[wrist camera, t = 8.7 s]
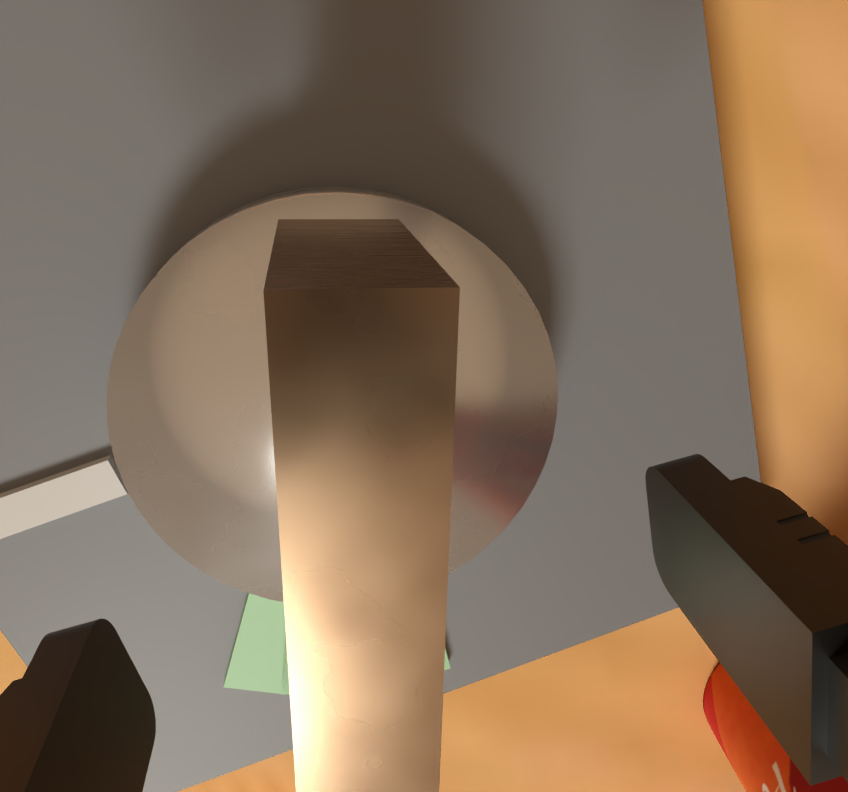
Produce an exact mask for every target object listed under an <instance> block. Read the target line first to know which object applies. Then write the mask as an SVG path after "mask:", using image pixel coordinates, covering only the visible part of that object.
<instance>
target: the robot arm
mask: <svg viewBox="0 0 848 792" xmlns="http://www.w3.org/2000/svg"><path fill="white" fill-rule="evenodd" d="M645 480H646V491H647V501H648V510H649V520H650V529H651V539H652V548H653V555H654V559H655V563H656V566H657V569H658V572H659V575H660V577H661V579H662V582H663V584H664V586H665V587H666V589H667V591H668V592H669V594H670V595H671V597H672V598H673V599H674V601H675V602H676V603H677V605H678V606H679V608H680V609H681V610H682V612H683V613H684V614H685V616H686V617H687V618H688V620H689V621H690V623H691V624H692V625H693V627H694V628H695V629H696V631H697V632H698V633H699V635H700V636H701V637H702V639H703V640H704V642H705V643H706V644H707V646H708V647H709V648H710V650H711V651H712V652H713V654H714V655H715V657H716V658H717V659H718V661H719V662H720V663H721V665H722V666H723V667H724V669H725V670H726V672H727V673H728V674H729V676H730V677H731V678H732V680H733V681H734V682H735V684H736V685H737V686H738V688H739V689H740V691H741V692H742V693H743V695H744V696H745V697H746V699H747V700H748V701H749V703H750V704H751V706H752V707H753V708H754V710H755V711H756V712H757V714H758V715H759V716H760V718H761V719H762V721H763V722H764V723H765V725H766V726H767V727H768V729H769V730H770V731H771V733H772V734H773V735H774V737H775V738H776V740H777V741H778V742H779V744H780V745H781V746H782V748H783V749H784V750H785V752H786V753H787V755H788V756H789V757H790V759H791V760H792V761H793V763H794V764H795V765H796V767H797V768H798V769H799V771H800V772H801V774H802V775H803V776H804V778H805V779H806V780H807V782H808V783H809V784H810V786H811V785H815V784H818V783H821V782H824V781H828V780H831V779H834V778H838V777H841V776H843V777H844V778H845V780H846V781H847V782H848V546H847V545H846V544H845V543H844V542H842V541H841V540H840V539H839V538H837V537H836V536H835V535H833V536H831V535H830V533H829V530H828V529H827V528H825V527H824V526H823V525H822V524H820V523H819V522H818V521H817V520H816V519H814V518H813V517H808V515H807V512H806V511H805V510H803V509H802V508H801V507H800V506H799V505H797V504H796V503H795V502H794V501H792V500H791V499H790V498H789V497H788V496H786V495H785V494H784V493H783V492H782V491H780V490H778V489H775V488H773V487H770V486H768V485H765V484H763V483H760V482H758V481H755V480H753V479H750V478H748V477H745V476H744V477H741V478H737V479H734V480H730V479H728V478H727V477H726V476H725V475H724V474H723V473H722V472H721V471H720V470H718V469H717V468H716V467H715V466H714V465H713V464H712V463H711V462H709V461H708V460H707V459H706V458H705V457H704V456H702V455H700V454H694V455H690V456H687V457H683V458H680V459H676V460H673V461H669V462H665V463H662V464H658V465H655V466H651V467H649V468H648V469H647V471H646V476H645ZM155 734H156V718H155V711H154V706H153V702H152V699H151V696H150V694H149V692H148V690H147V688H146V686H145V684H144V682H143V680H142V678H141V677H140V675H139V673H138V671H137V669H136V667H135V665H134V663H133V661H132V660H131V658H130V656H129V654H128V652H127V650H126V648H125V646H124V644H123V643H122V641H121V639H120V637H119V635H118V633H117V631H116V630H115V628H114V626H113V625H112V624H111V623H110V622H109V621H108V620H106V619H102V618H101V619H98V620H94V621H90V622H87V623H83V624H80V625H76V626H72V627H69V628H65V629H62V630H58V631H55V632H51V633H48V634H47V635H45V636H44V637H43V639H42V640H41V642H40V644H39V646H38V648H37V650H36V652H35V654H34V656H33V658H32V660H31V662H30V664H29V666H28V668H27V670H26V672H25V674H24V676H23V678H22V679H18V680H15V681H13V682H12V683H11V684H10V685H9V686H8V687H7V688H6V689H5V691H4V692H3V693H2V694H1V695H0V792H142V791H143V787H144V783H145V779H146V775H147V771H148V766H149V762H150V758H151V754H152V750H153V746H154V741H155Z"/></svg>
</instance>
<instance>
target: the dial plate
mask: <svg viewBox="0 0 848 792" xmlns="http://www.w3.org/2000/svg"><path fill="white" fill-rule="evenodd" d="M325 186H344V187H357V188H367V189H372V190H377V191H381V192H386V193H391V194H395V195H398V196H401V197H403V198H406V199H409V200H412V201H415V202H417V203H420V204H423V205H424V206H426V207H428V208H430V209H432V210H434V211H436V212H438V213H440V214H442V215H444V216H446V217H447V218H449V219H450V220H452V221H453V222H454V223H456V224H457V225H459V226H460V227H461V228H463V229H464V230H466V231H467V232H468V233H470V234H471V235H473V236H474V237H475V238H477V239H478V240H479V241H481V242H482V243H484V244H485V245H486V246H487V247H488V248H489V249H490V250H491V251H492V252H494V253H495V254H496V255H497V256H498V257H499V258H500V259H501V260H502V261H503V262H504V263H505V264H506V265H507V266H508V267H509V268H510V270H511V271H512V272H513V274H514V275H515V276H516V277H517V279H518V280H519V281H520V282H521V284H522V285H523V286H524V287H525V289H526V291H527V292H528V294H529V296H530V298H531V299H532V301H533V303H534V304H535V306H536V308H537V310H538V311H539V314H540V316H541V319H542V321H543V324H544V326H545V328H546V331H547V333H548V336H549V339H550V343H551V347H552V351H553V355H554V359H555V365H556V374H557V384H558V402H557V418H556V424H555V429H554V435H553V440H552V444H551V447H550V450H549V453H548V457H547V460H546V463H545V465H544V468H543V470H542V472H541V474H540V476H539V479H538V481H537V483H536V485H535V487H534V489H533V490H532V492H531V494H530V495H529V497H528V499H527V500H526V502H525V503H524V505H523V507H522V508H521V510H520V511H519V512H518V513H517V515H516V516H515V517H514V518H513V520H512V521H511V522H510V523H509V525H508V526H507V527H506V528H505V529H504V530H503V531H502V532H501V533H500V534H499V535H498V536H497V537H496V538H495V539H494V540H493V541H492V542H491V543H490V544H489V545H488V546H487V547H486V548H485V549H483V550H482V551H481V552H480V553H478V554H477V555H476V556H475V557H473V558H472V559H471V560H470V561H468V562H467V563H465V564H464V565H462V566H461V567H459V568H457V569H456V570H454V571H453V572H451V573H449V574H448V588H447V612H446V637H445V661H444V685H443V694H444V693H447V692H449V691H452V690H455V689H458V688H460V687H463V686H466V685H468V684H471V683H474V682H477V681H479V680H482V679H485V678H488V677H490V676H493V675H496V674H498V673H501V672H504V671H507V670H509V669H512V668H515V667H517V666H520V665H523V664H526V663H528V662H531V661H534V660H536V659H539V658H542V657H545V656H547V655H550V654H553V653H556V652H558V651H561V650H564V649H566V648H569V647H572V646H575V645H577V644H580V643H583V642H585V641H588V640H591V639H594V638H596V637H599V636H602V635H605V634H607V633H610V632H613V631H615V630H618V629H621V628H624V627H626V626H629V625H632V624H634V623H637V622H640V621H643V620H645V619H648V618H651V617H653V616H656V615H659V614H662V613H664V612H667V611H670V610H673V609H675V608H678V607H679V606H678V605H677V603H676V602H675V601H674V599H673V598H672V597H671V595H670V594H669V592H668V591H667V589H666V587H665V586H664V584H663V582H662V579H661V577H660V575H659V572H658V569H657V566H656V563H655V559H654V555H653V548H652V539H651V529H650V520H649V510H648V501H647V491H646V480H645V476H646V471H647V469H648V468H649V467H651V466H655V465H658V464H662V463H665V462H669V461H673V460H676V459H680V458H683V457H687V456H690V455H694V454H700V455H702V456H704V457H705V458H706V459H707V460H708V461H709V462H711V463H712V464H713V465H714V466H715V467H716V468H717V469H718V470H720V471H721V472H722V473H723V474H724V475H725V476H726V477H727V478H728V479H730V480H734V479H737V478H741V477H744V476H745V477H748V478H750V479H753V480H755V481H758V482H760V483H761V480H760V471H759V463H758V455H757V447H756V438H755V430H754V422H753V414H752V405H751V397H750V389H749V381H748V372H747V364H746V356H745V348H744V339H743V331H742V323H741V315H740V306H739V298H738V290H737V282H736V274H735V265H734V257H733V249H732V241H731V232H730V224H729V216H728V208H727V199H726V191H725V183H724V175H723V166H722V158H721V150H720V142H719V133H718V125H717V117H716V109H715V100H714V92H713V84H712V76H711V67H710V59H709V51H708V43H707V35H706V26H705V18H704V10H703V2H702V0H0V630H1V632H2V633H3V634H4V636H5V637H6V638H7V640H8V641H9V642H10V644H11V645H12V646H13V648H14V649H15V651H16V652H17V653H18V655H19V656H20V657H21V659H22V660H23V661H24V663H25V664H26V665H27V667H28V666H29V664H30V662H31V660H32V658H33V656H34V654H35V652H36V650H37V648H38V646H39V644H40V642H41V640H42V639H43V637H44V636H45V635H47V634H48V633H51V632H55V631H58V630H62V629H65V628H69V627H72V626H76V625H80V624H83V623H87V622H90V621H94V620H98V619H101V618H102V619H106V620H108V621H109V622H110V623H111V624H112V625H113V626H114V628H115V630H116V631H117V633H118V635H119V637H120V639H121V641H122V643H123V644H124V646H125V648H126V650H127V652H128V654H129V656H130V658H131V660H132V661H133V663H134V665H135V667H136V669H137V671H138V673H139V675H140V677H141V678H142V680H143V682H144V684H145V686H146V688H147V690H148V692H149V694H150V696H151V699H152V702H153V706H154V711H155V718H156V734H155V741H154V746H153V750H152V754H151V758H150V762H149V766H148V771H147V775H146V779H145V783H144V787H143V791H142V792H177V791H180V790H183V789H186V788H188V787H191V786H194V785H196V784H199V783H202V782H205V781H207V780H210V779H213V778H215V777H218V776H221V775H224V774H226V773H229V772H232V771H235V770H237V769H240V768H243V767H245V766H248V765H251V764H254V763H256V762H259V761H262V760H264V759H267V758H270V757H273V756H275V755H278V754H281V753H283V752H286V751H289V750H292V749H293V736H292V721H291V705H290V690H289V675H288V659H287V644H286V629H285V614H284V602H281V601H275V600H270V599H266V598H263V597H260V596H256V595H253V594H250V593H246V592H243V591H241V590H239V589H236V588H234V587H232V586H230V585H227V584H225V583H223V582H220V581H218V580H217V579H215V578H213V577H211V576H210V575H208V574H206V573H205V572H203V571H201V570H199V569H198V568H196V567H195V566H193V565H192V564H191V563H189V562H188V561H187V560H186V559H184V558H183V557H182V556H180V555H179V554H178V553H176V552H175V551H174V550H173V549H172V548H171V547H170V546H169V545H168V544H167V543H166V542H165V541H164V540H163V539H162V538H161V537H160V536H159V535H158V534H157V533H156V532H155V531H154V530H153V528H152V527H151V526H150V525H149V523H148V522H147V521H146V519H145V518H144V517H143V516H142V514H141V513H140V512H139V510H138V508H137V507H136V505H135V503H134V502H133V500H132V498H131V496H130V495H129V493H128V491H127V489H126V488H125V485H124V483H123V480H122V478H121V475H120V473H119V470H118V468H117V465H116V463H115V459H114V455H113V451H112V447H111V443H110V439H109V434H108V422H107V410H106V402H107V387H108V376H109V371H110V367H111V363H112V358H113V354H114V349H115V346H116V344H117V341H118V339H119V336H120V334H121V331H122V328H123V326H124V323H125V321H126V319H127V317H128V316H129V314H130V312H131V310H132V309H133V307H134V305H135V303H136V302H137V300H138V298H139V296H140V295H141V293H142V292H143V291H144V289H145V288H146V287H147V286H148V284H149V283H150V282H151V281H152V279H153V278H154V277H155V276H156V274H157V273H158V272H159V271H160V269H161V268H162V267H163V266H164V265H165V264H166V262H167V261H168V260H169V259H170V258H171V257H172V256H173V255H174V254H175V253H176V252H177V251H178V250H179V249H180V248H181V247H182V246H183V245H184V244H185V243H186V242H187V241H189V240H190V239H191V238H192V237H193V236H194V235H195V234H196V233H198V232H199V231H201V230H202V229H203V228H205V227H206V226H208V225H209V224H211V223H212V222H213V221H215V220H216V219H218V218H219V217H221V216H223V215H225V214H227V213H229V212H231V211H233V210H235V209H237V208H239V207H241V206H243V205H245V204H247V203H250V202H252V201H255V200H258V199H261V198H264V197H267V196H270V195H273V194H276V193H281V192H286V191H291V190H296V189H301V188H309V187H325Z"/></svg>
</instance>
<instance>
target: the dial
mask: <svg viewBox="0 0 848 792" xmlns="http://www.w3.org/2000/svg"><path fill="white" fill-rule="evenodd" d="M557 402H558V384H557V374H556V365H555V359H554V355H553V351H552V347H551V343H550V339H549V336H548V333H547V331H546V328H545V326H544V324H543V321H542V319H541V316H540V314H539V311H538V310H537V308H536V306H535V304H534V303H533V301H532V299H531V298H530V296H529V294H528V292H527V291H526V289H525V287H524V286H523V285H522V284H521V282H520V281H519V280H518V279H517V277H516V276H515V275H514V274H513V272H512V271H511V270H510V268H509V267H508V266H507V265H506V264H505V263H504V262H503V261H502V260H501V259H500V258H499V257H498V256H497V255H496V254H495V253H494V252H492V251H491V250H490V249H489V248H488V247H487V246H486V245H485V244H484V243H482V242H481V241H479V240H478V239H477V238H475V237H474V236H473V235H471V234H470V233H468V232H467V231H466V230H464V229H463V228H461V227H460V226H459V225H457V224H456V223H454V222H453V221H452V220H450V219H449V218H447V217H446V216H444V215H442V214H440V213H438V212H436V211H434V210H432V209H430V208H428V207H426V206H424V205H423V204H420V203H417V202H415V201H412V200H409V199H406V198H403V197H401V196H398V195H395V194H391V193H386V192H381V191H377V190H372V189H367V188H357V187H344V186H325V187H309V188H301V189H296V190H291V191H286V192H281V193H276V194H273V195H270V196H267V197H264V198H261V199H258V200H255V201H252V202H250V203H247V204H245V205H243V206H241V207H239V208H237V209H235V210H233V211H231V212H229V213H227V214H225V215H223V216H221V217H219V218H218V219H216V220H215V221H213V222H212V223H211V224H209V225H208V226H206V227H205V228H203V229H202V230H201V231H199V232H198V233H196V234H195V235H194V236H193V237H192V238H191V239H190V240H189V241H187V242H186V243H185V244H184V245H183V246H182V247H181V248H180V249H179V250H178V251H177V252H176V253H175V254H174V255H173V256H172V257H171V258H170V259H169V260H168V261H167V262H166V264H165V265H164V266H163V267H162V268H161V269H160V271H159V272H158V273H157V274H156V276H155V277H154V278H153V279H152V281H151V282H150V283H149V284H148V286H147V287H146V288H145V289H144V291H143V292H142V293H141V295H140V296H139V298H138V300H137V302H136V303H135V305H134V307H133V309H132V310H131V312H130V314H129V316H128V317H127V319H126V321H125V323H124V326H123V328H122V331H121V334H120V336H119V339H118V341H117V344H116V346H115V349H114V354H113V358H112V363H111V367H110V371H109V376H108V387H107V402H106V410H107V422H108V434H109V439H110V443H111V447H112V451H113V455H114V459H115V463H116V465H117V468H118V470H119V473H120V475H121V478H122V480H123V483H124V485H125V488H126V489H127V491H128V493H129V495H130V496H131V498H132V500H133V502H134V503H135V505H136V507H137V508H138V510H139V512H140V513H141V514H142V516H143V517H144V518H145V519H146V521H147V522H148V523H149V525H150V526H151V527H152V528H153V530H154V531H155V532H156V533H157V534H158V535H159V536H160V537H161V538H162V539H163V540H164V541H165V542H166V543H167V544H168V545H169V546H170V547H171V548H172V549H173V550H174V551H175V552H176V553H178V554H179V555H180V556H182V557H183V558H184V559H186V560H187V561H188V562H189V563H191V564H192V565H193V566H195V567H196V568H198V569H199V570H201V571H203V572H205V573H206V574H208V575H210V576H211V577H213V578H215V579H217V580H218V581H220V582H223V583H225V584H227V585H230V586H232V587H234V588H236V589H239V590H241V591H243V592H246V593H250V594H253V595H256V596H260V597H263V598H266V599H270V600H275V601H281V602H284V614H285V629H286V644H287V659H288V675H289V690H290V705H291V721H292V736H293V751H294V766H295V782H296V792H439V781H440V757H441V733H442V709H443V685H444V661H445V637H446V612H447V588H448V574H449V573H451V572H453V571H454V570H456V569H457V568H459V567H461V566H462V565H464V564H465V563H467V562H468V561H470V560H471V559H472V558H473V557H475V556H476V555H477V554H478V553H480V552H481V551H482V550H483V549H485V548H486V547H487V546H488V545H489V544H490V543H491V542H492V541H493V540H494V539H495V538H496V537H497V536H498V535H499V534H500V533H501V532H502V531H503V530H504V529H505V528H506V527H507V526H508V525H509V523H510V522H511V521H512V520H513V518H514V517H515V516H516V515H517V513H518V512H519V511H520V510H521V508H522V507H523V505H524V503H525V502H526V500H527V499H528V497H529V495H530V494H531V492H532V490H533V489H534V487H535V485H536V483H537V481H538V479H539V476H540V474H541V472H542V470H543V468H544V465H545V463H546V460H547V457H548V453H549V450H550V447H551V444H552V440H553V435H554V429H555V424H556V418H557Z"/></svg>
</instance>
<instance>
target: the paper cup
mask: <svg viewBox="0 0 848 792" xmlns="http://www.w3.org/2000/svg"><path fill="white" fill-rule="evenodd" d="M703 708H704V713H705V716H706V718H707V721H708V723H709V725H710V727H711V729H712V731H713V733H714V735H715V736H716V738H717V740H718V742H719V744H720V746H721V747H722V749H723V751H724V753H725V755H726V756H727V758H728V760H729V762H730V764H731V765H732V767H733V769H734V771H735V772H736V774H737V776H738V778H739V779H740V781H741V783H742V785H743V786H744V788H745V790H746V792H848V782H847V781H846V780H845V778H844V777H843V776H841V777H838V778H834V779H831V780H828V781H824V782H821V783H818V784H815V785H811V786H810V784H809V783H808V782H807V780H806V779H805V778H804V776H803V775H802V774H801V772H800V771H799V769H798V768H797V767H796V765H795V764H794V763H793V761H792V760H791V759H790V757H789V756H788V755H787V753H786V752H785V750H784V749H783V748H782V746H781V745H780V744H779V742H778V741H777V740H776V738H775V737H774V735H773V734H772V733H771V731H770V730H769V729H768V727H767V726H766V725H765V723H764V722H763V721H762V719H761V718H760V716H759V715H758V714H757V712H756V711H755V710H754V708H753V707H752V706H751V704H750V703H749V701H748V700H747V699H746V697H745V696H744V695H743V693H742V692H741V691H740V689H739V688H738V686H737V685H736V684H735V682H734V681H733V680H732V678H731V677H730V676H729V674H728V673H727V672H726V670H725V669H724V667H723V666H722V665H721V663H719V665H718V666H717V667H716V668H715V670H714V671H713V673H712V675H711V676H710V678H709V680H708V682H707V685H706V688H705V691H704V697H703Z"/></svg>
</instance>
